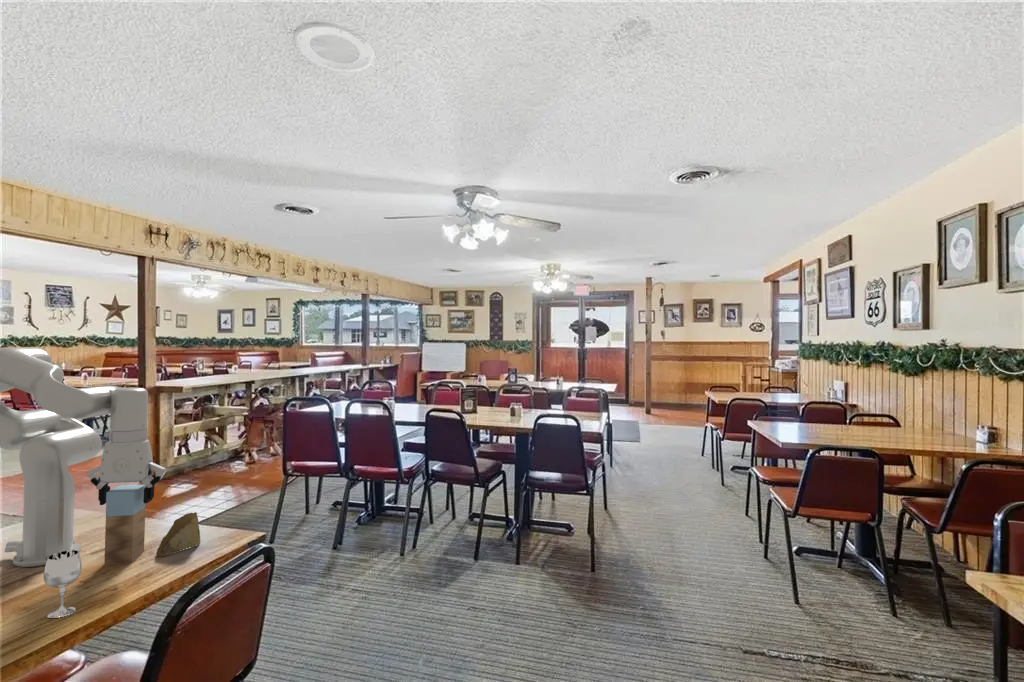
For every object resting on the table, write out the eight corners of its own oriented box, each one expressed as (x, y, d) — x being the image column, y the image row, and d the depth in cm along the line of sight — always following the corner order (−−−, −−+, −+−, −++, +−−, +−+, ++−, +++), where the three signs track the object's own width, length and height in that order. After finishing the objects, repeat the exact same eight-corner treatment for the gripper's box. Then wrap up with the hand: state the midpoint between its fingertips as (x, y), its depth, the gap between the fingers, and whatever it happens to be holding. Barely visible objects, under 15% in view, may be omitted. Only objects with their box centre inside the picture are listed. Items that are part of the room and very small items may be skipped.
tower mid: (105, 540, 122) (105, 516, 122) (118, 531, 128) (119, 508, 128) (132, 539, 124) (133, 515, 124) (144, 529, 130) (145, 507, 130)
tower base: (104, 564, 122) (105, 540, 122) (117, 554, 128) (118, 531, 128) (131, 562, 124) (132, 539, 124) (143, 552, 130) (144, 530, 130)
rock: (153, 554, 124) (199, 541, 129) (151, 521, 128) (196, 510, 133) (159, 565, 132) (203, 552, 137) (157, 533, 136) (200, 522, 141)
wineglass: (47, 609, 102) (49, 552, 102) (83, 603, 105) (85, 547, 105) (37, 624, 97) (39, 563, 97) (75, 616, 100) (77, 557, 100)
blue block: (105, 516, 123) (106, 492, 123) (119, 508, 128) (119, 485, 128) (133, 515, 124) (134, 491, 124) (145, 507, 130) (145, 484, 130)
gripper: (79, 439, 120) (77, 509, 120) (159, 438, 124) (157, 506, 124) (98, 433, 128) (96, 499, 128) (173, 432, 132) (171, 496, 132)
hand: (126, 502), depth 126 cm, fingers open, 9 cm apart
